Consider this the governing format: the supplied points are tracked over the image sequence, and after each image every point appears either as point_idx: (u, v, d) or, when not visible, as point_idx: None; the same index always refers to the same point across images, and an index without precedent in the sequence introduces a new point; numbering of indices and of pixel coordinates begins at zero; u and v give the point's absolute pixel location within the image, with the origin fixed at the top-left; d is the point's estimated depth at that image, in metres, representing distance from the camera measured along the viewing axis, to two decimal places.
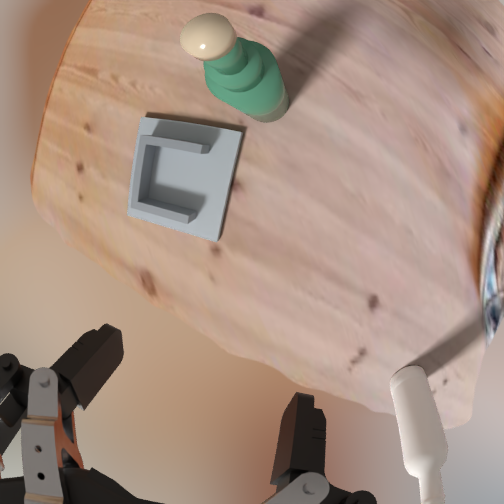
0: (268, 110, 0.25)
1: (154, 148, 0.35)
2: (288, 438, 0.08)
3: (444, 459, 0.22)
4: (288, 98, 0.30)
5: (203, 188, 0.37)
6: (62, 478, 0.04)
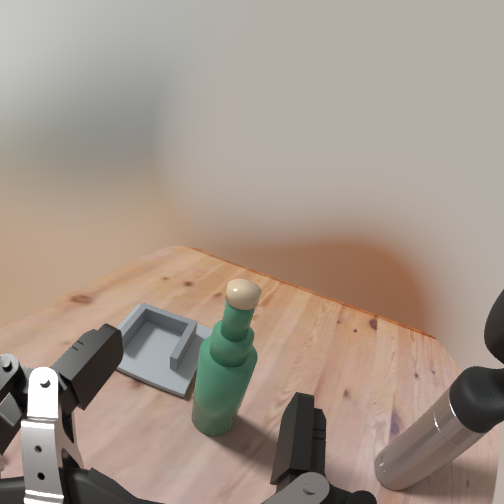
0: (197, 393, 0.27)
1: (183, 332, 0.46)
2: (288, 438, 0.08)
3: None
4: (215, 434, 0.30)
5: (141, 358, 0.38)
6: (62, 478, 0.04)
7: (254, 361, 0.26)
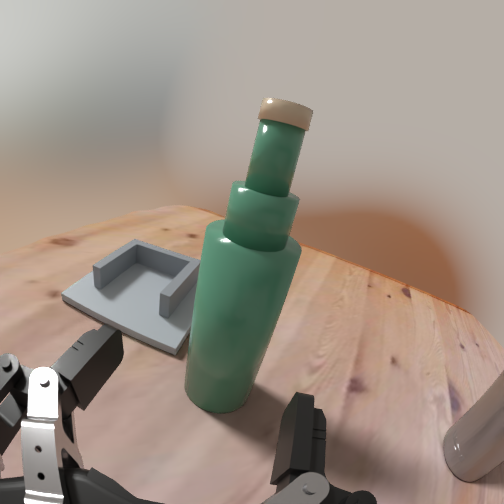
0: (195, 324, 0.18)
1: None
2: (288, 438, 0.08)
3: None
4: (220, 409, 0.20)
5: (121, 300, 0.28)
6: (62, 478, 0.04)
7: (297, 251, 0.16)
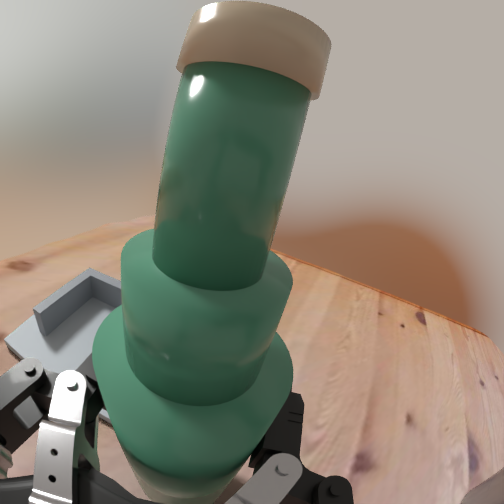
0: None
1: None
2: None
3: None
4: None
5: (67, 354, 0.19)
6: (62, 478, 0.04)
7: (284, 382, 0.07)
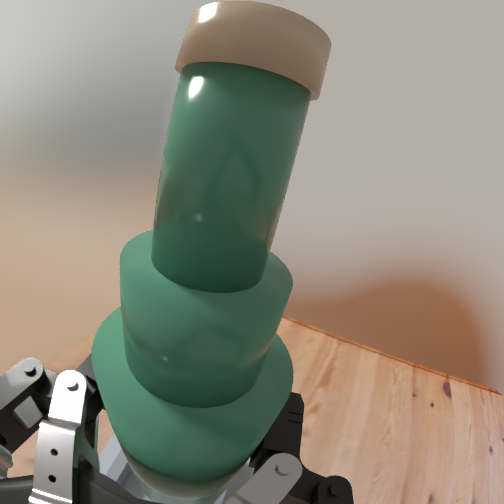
0: None
1: None
2: None
3: None
4: None
5: None
6: (62, 478, 0.04)
7: (284, 384, 0.07)
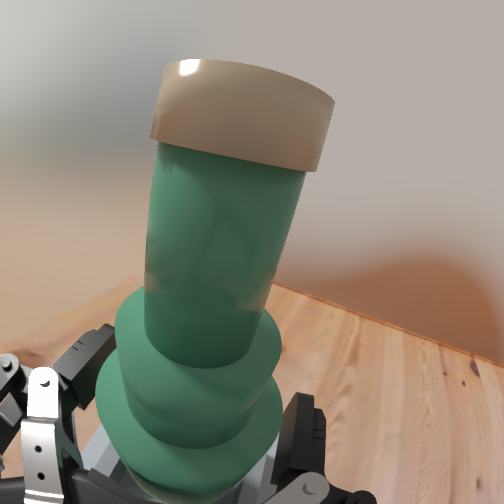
0: None
1: None
2: (288, 438, 0.08)
3: None
4: None
5: None
6: (62, 478, 0.04)
7: (274, 424, 0.07)
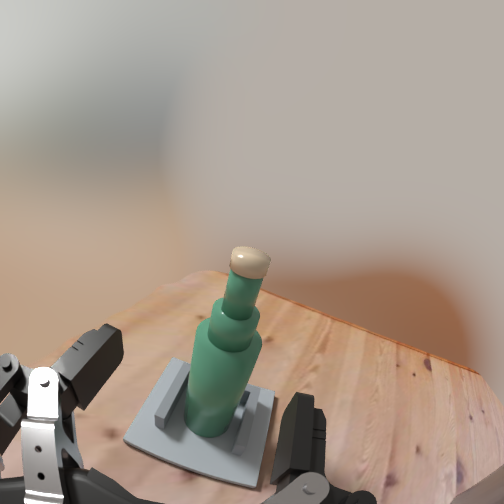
0: (191, 385, 0.24)
1: (240, 400, 0.33)
2: (288, 438, 0.08)
3: None
4: (209, 435, 0.26)
5: (189, 442, 0.25)
6: (62, 478, 0.04)
7: (258, 347, 0.23)
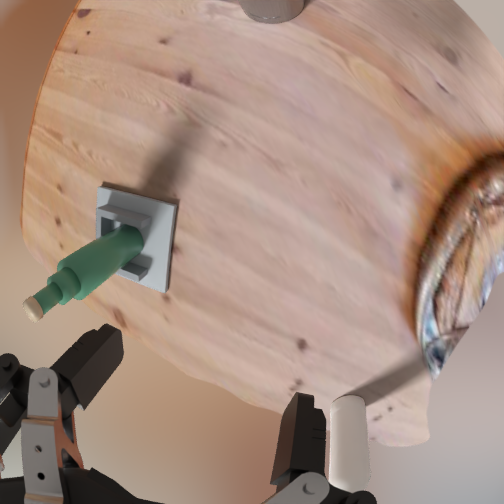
0: None
1: None
2: (288, 438, 0.08)
3: (363, 485, 0.29)
4: (141, 241, 0.42)
5: (150, 251, 0.43)
6: (62, 478, 0.04)
7: (69, 263, 0.29)
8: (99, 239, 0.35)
